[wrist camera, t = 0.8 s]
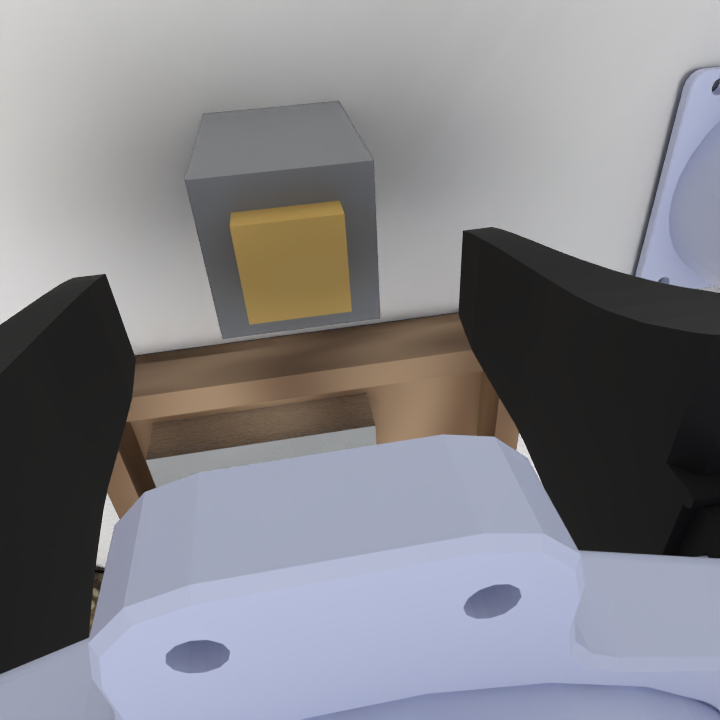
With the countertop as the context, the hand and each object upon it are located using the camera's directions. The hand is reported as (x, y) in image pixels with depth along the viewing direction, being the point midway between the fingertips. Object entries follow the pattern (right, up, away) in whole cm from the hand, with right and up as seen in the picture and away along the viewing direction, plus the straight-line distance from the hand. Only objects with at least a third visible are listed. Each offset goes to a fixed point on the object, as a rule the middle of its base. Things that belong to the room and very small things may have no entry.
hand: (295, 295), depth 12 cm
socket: (-2, -6, +14) cm, 15 cm away
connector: (-1, +5, +6) cm, 8 cm away
